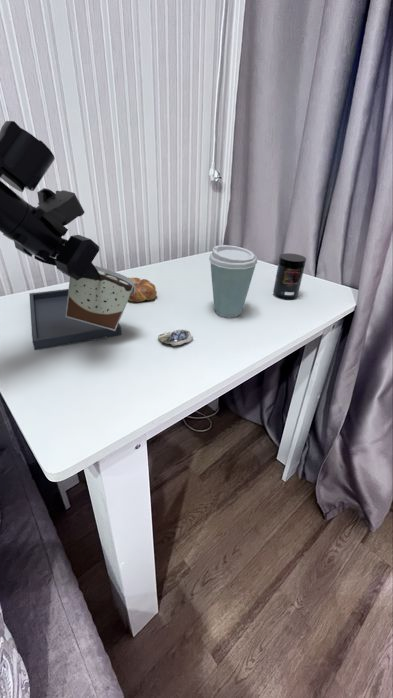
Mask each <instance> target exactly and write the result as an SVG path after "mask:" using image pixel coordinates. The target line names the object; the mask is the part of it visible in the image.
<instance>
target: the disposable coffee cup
mask: <svg viewBox="0 0 393 698" xmlns="http://www.w3.org/2000/svg"><path fill="white" fill-rule="evenodd" d="M208 260H209V263H210V274H211V287H212V300H213V307H214V311H215V314H216V315H218V316H220V317H222V318H229V319H230V318H236V317H239V316H240V315H241V313H242V312H243V309H244V306H245V303H246V300H247V297H248V293H249V289H250V286H251V283H252V279H253V276H254V272H255V270H256V266H257V264H258V257H257V256H256V255H255V254H254V252H253V251H252V250H249V249H247V248H245V247H240V246H236V245H228V244H220V245H215V246H214V247H213V248H212V251H211V253H210V254H209V257H208Z"/></svg>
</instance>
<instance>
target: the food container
mask: <svg viewBox="0 0 393 698" xmlns="http://www.w3.org/2000/svg"><path fill="white" fill-rule="evenodd" d="M94 266H95V268H96V269H97V271H98V272H99V274H100V275H101V276H100V278H99V280H92V279H86V278H81V279H79V280H76V279H74V278H72V277H70V276H69V280H68V281H69V283H68V289H69V290H68V298H67V306H66V314H65V317H67V318H71V319H74V320H78V321H81V322H85V323H88V324H92V325H95V326H99V327H102V328H106V329H110V330H113V331H115V330H116V328H117V326H118V323H119V324H120V321H121V319H122V316H123V313H124V311H125V309H126V306H127V304H128V302H129V300H128V299H129V297H130V295H131V292H133V294H135V286H134V285H135V282H134V281H133V280H131V279H130V278H131V277H127V276H126V275H124V274H121V273H119V272H116V271H114V270H111V269H108V268H104V267H102V266H98V265H94Z"/></svg>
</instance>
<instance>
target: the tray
mask: <svg viewBox="0 0 393 698" xmlns="http://www.w3.org/2000/svg"><path fill="white" fill-rule="evenodd" d="M68 290H69V288H64V289H55V290H47V291H38V292H31V293H30V292H29V293H28V294H29V309H30V322H31V323H30V325H31V340H32V341H31V342H32V346H33V349H34V351H38V350H43V349H49V348H54V347H59V346H65V345H66V346H67V345H73V344H77V343H84V342H89V341H95V340H100V339H105V338H111V337H118V336H122V334H123V333H122V326H121V324H120V322H119V323H118V326H117V328H116V330H115V331H113V330H110V329H106V328H102V327H99V326H95V325H92V324H88V323H85V322H81V321H78V320H74V319H71V318H67V317H65V314H66V306H67V298H68Z"/></svg>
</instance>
